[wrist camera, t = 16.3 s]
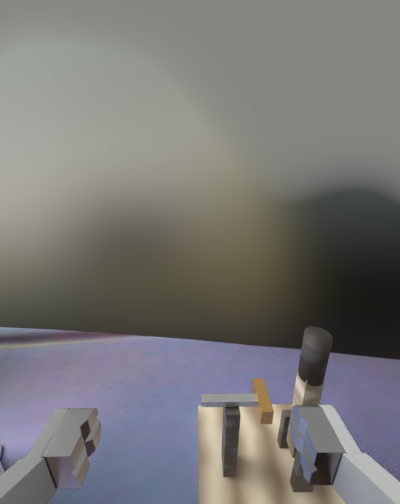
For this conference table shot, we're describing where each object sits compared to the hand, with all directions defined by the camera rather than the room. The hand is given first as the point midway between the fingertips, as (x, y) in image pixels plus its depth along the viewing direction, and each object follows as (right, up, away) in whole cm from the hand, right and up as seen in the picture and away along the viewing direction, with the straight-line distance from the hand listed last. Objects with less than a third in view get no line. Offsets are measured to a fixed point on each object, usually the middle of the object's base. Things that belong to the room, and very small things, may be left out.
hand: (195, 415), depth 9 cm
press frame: (+12, -31, +27) cm, 43 cm away
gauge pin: (+5, -16, +22) cm, 28 cm away
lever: (+16, -24, +25) cm, 38 cm away
